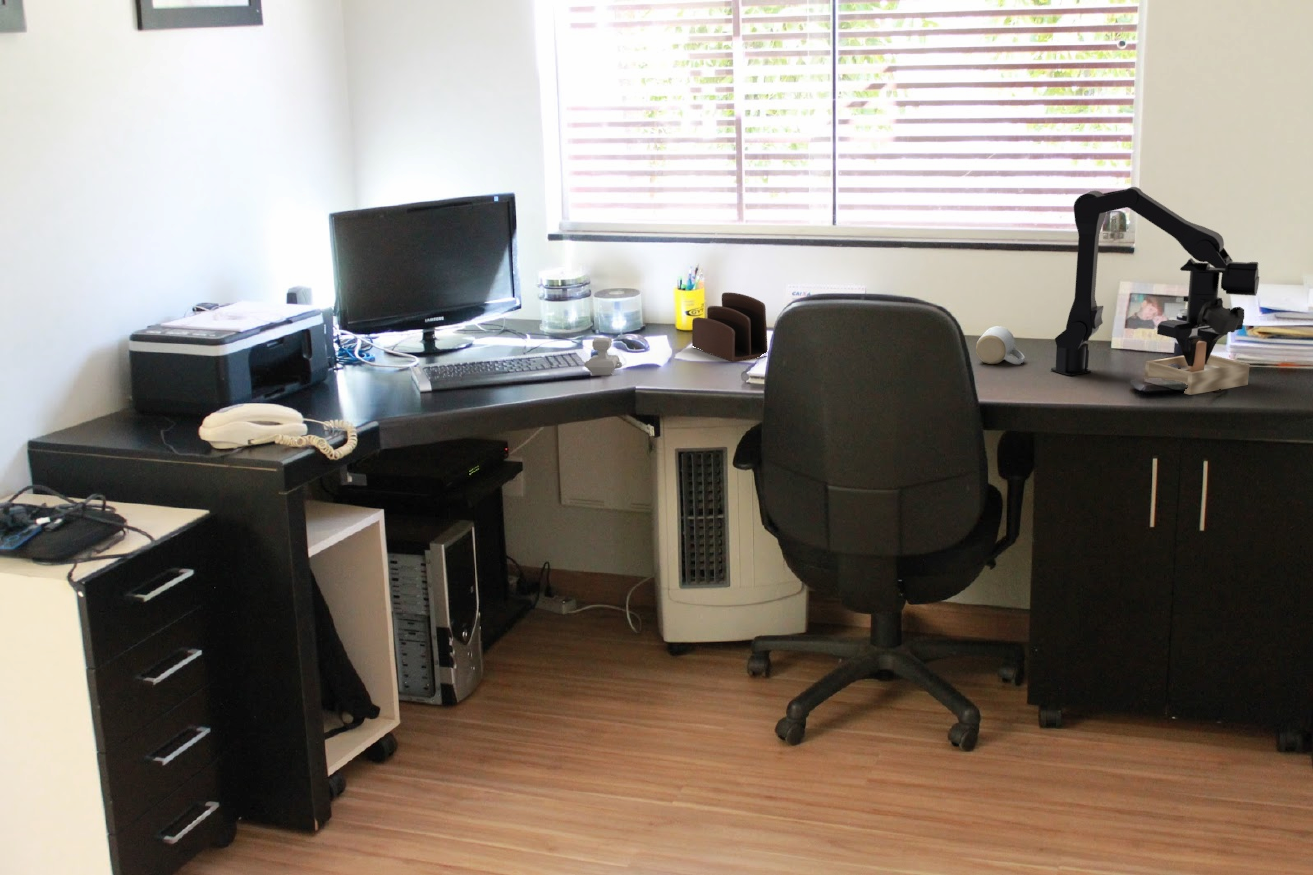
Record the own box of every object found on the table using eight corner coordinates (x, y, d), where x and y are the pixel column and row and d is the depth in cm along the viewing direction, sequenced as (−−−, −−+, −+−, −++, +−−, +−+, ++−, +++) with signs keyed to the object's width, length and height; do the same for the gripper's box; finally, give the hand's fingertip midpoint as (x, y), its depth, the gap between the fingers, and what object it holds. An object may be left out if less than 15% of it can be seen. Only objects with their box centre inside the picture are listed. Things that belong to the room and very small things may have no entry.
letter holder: (725, 343, 336) (724, 288, 332) (768, 357, 319) (767, 299, 315) (691, 348, 331) (690, 293, 327) (733, 363, 314) (732, 304, 310)
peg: (1195, 381, 279) (1199, 344, 277) (1185, 378, 282) (1188, 341, 279) (1206, 379, 280) (1209, 342, 278) (1195, 376, 283) (1198, 340, 281)
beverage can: (1202, 366, 295) (1206, 313, 292) (1175, 365, 296) (1179, 313, 293) (1197, 360, 301) (1201, 308, 297) (1171, 360, 302) (1175, 308, 298)
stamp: (625, 370, 310) (623, 335, 307) (619, 377, 303) (618, 341, 301) (587, 370, 311) (585, 335, 309) (581, 377, 305) (579, 341, 302)
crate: (1190, 394, 272) (1192, 373, 271) (1144, 381, 284) (1145, 361, 283) (1247, 384, 279) (1249, 364, 277) (1200, 372, 290) (1202, 352, 289)
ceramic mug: (973, 364, 305) (975, 331, 302) (981, 356, 312) (983, 324, 309) (1019, 368, 300) (1021, 335, 298) (1027, 360, 307) (1029, 328, 305)
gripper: (1199, 303, 265) (1192, 378, 269) (1267, 293, 272) (1259, 367, 277) (1158, 294, 275) (1152, 367, 279) (1224, 285, 282) (1218, 357, 286)
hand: (1196, 365), depth 280 cm, fingers open, 3 cm apart
